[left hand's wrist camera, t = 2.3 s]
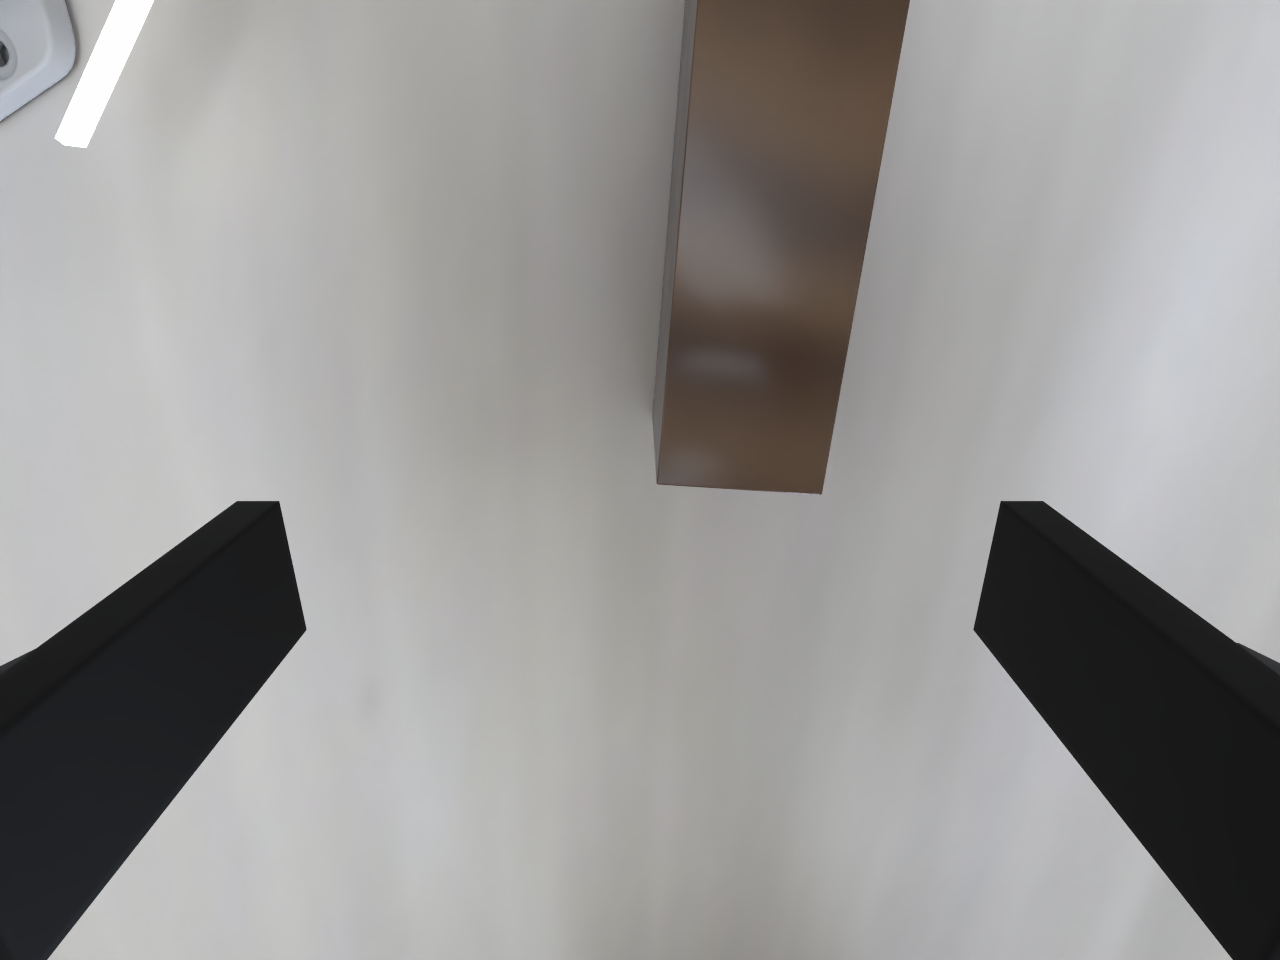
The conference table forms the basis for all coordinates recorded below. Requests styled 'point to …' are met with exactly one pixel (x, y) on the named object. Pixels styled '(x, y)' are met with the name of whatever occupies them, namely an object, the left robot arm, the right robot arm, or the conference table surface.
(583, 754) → the conference table surface
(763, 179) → the bar
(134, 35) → the right robot arm
